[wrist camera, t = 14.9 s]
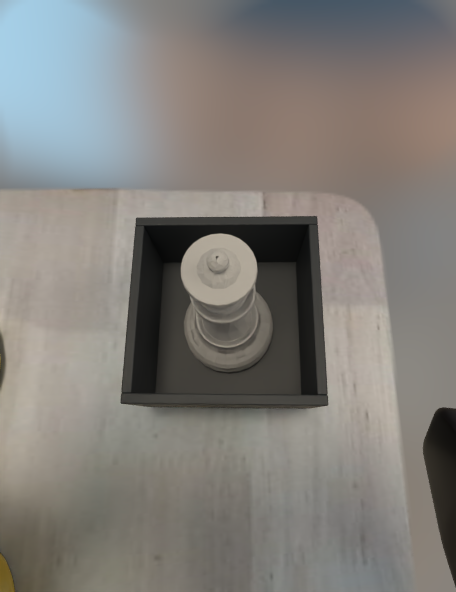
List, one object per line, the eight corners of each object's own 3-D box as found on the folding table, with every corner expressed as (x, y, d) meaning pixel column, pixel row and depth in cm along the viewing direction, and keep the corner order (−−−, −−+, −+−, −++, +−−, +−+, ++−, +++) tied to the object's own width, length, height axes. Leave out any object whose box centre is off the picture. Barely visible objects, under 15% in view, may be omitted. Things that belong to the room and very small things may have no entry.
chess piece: (272, 290, 21) (295, 188, 12) (271, 374, 20) (296, 336, 11) (189, 288, 22) (146, 186, 12) (184, 371, 20) (131, 331, 11)
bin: (308, 408, 20) (328, 405, 15) (149, 406, 20) (120, 403, 16) (301, 258, 22) (317, 215, 18) (158, 259, 23) (135, 217, 18)
